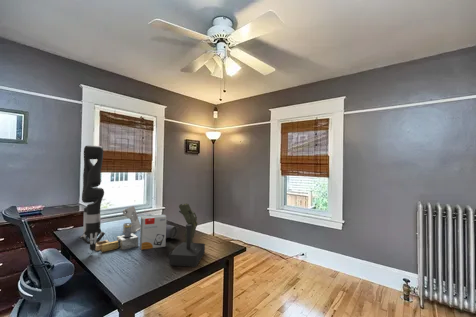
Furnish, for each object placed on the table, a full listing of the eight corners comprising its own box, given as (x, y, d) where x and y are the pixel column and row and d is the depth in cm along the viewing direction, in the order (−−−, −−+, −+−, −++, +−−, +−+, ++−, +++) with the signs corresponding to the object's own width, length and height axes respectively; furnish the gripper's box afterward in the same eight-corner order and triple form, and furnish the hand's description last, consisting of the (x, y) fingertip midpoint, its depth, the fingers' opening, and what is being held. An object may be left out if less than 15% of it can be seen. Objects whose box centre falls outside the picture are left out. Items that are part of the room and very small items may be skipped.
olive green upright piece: (203, 246, 150) (194, 201, 153) (198, 250, 143) (189, 203, 146) (185, 248, 155) (177, 204, 157) (179, 252, 148) (171, 206, 150)
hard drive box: (140, 250, 144) (141, 218, 144) (139, 246, 151) (140, 216, 151) (166, 246, 151) (166, 216, 151) (164, 242, 158) (164, 214, 158)
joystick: (179, 252, 143) (179, 220, 143) (205, 253, 141) (205, 221, 141) (166, 266, 124) (167, 229, 124) (196, 267, 122) (196, 230, 122)
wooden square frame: (93, 247, 148) (93, 242, 148) (107, 244, 153) (107, 239, 153) (96, 250, 142) (96, 246, 142) (110, 247, 148) (110, 242, 148)
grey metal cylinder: (123, 245, 151) (123, 224, 151) (129, 244, 154) (129, 223, 154) (125, 247, 148) (125, 225, 149) (131, 245, 151) (132, 224, 151)
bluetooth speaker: (144, 237, 169) (144, 223, 169) (153, 233, 177) (153, 220, 177) (169, 241, 160) (169, 227, 160) (177, 237, 169) (177, 224, 169)
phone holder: (134, 233, 178) (134, 210, 178) (121, 232, 178) (122, 209, 178) (144, 226, 195) (144, 205, 195) (132, 226, 196) (132, 205, 196)
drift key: (101, 250, 141) (101, 244, 141) (117, 247, 148) (117, 240, 148) (102, 252, 140) (102, 245, 140) (118, 248, 146) (118, 241, 146)
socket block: (116, 245, 151) (117, 236, 151) (132, 242, 158) (132, 233, 158) (121, 250, 144) (122, 240, 144) (138, 246, 151) (138, 237, 151)
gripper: (103, 218, 145) (103, 245, 144) (78, 221, 135) (78, 251, 135) (107, 220, 139) (106, 248, 139) (81, 224, 130) (80, 254, 130)
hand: (92, 249), depth 137 cm, fingers closed
